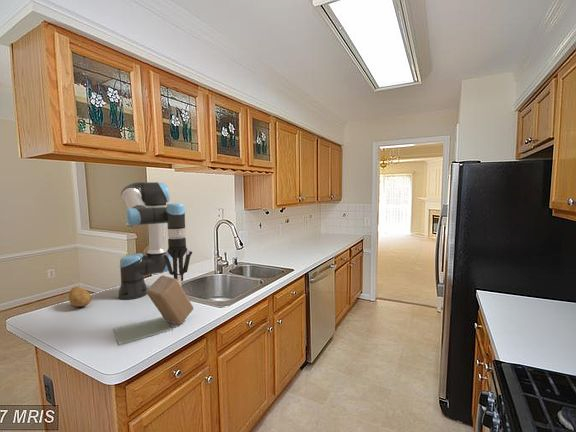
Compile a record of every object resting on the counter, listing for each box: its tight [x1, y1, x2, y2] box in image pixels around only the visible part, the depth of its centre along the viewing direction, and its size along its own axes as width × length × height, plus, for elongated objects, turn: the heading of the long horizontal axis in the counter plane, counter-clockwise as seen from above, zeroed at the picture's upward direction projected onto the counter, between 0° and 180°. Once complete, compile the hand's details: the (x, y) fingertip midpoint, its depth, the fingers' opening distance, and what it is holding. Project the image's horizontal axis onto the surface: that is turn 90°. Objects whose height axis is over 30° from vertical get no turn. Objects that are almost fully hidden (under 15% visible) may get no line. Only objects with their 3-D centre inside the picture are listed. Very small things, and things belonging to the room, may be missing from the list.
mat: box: [113, 315, 174, 346], centre depth 122 cm, size 16×20×1 cm
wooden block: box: [146, 275, 194, 326], centre depth 126 cm, size 10×10×20 cm
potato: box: [68, 286, 92, 308], centre depth 148 cm, size 9×16×9 cm, turn 48°
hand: (178, 288), depth 130 cm, fingers closed
